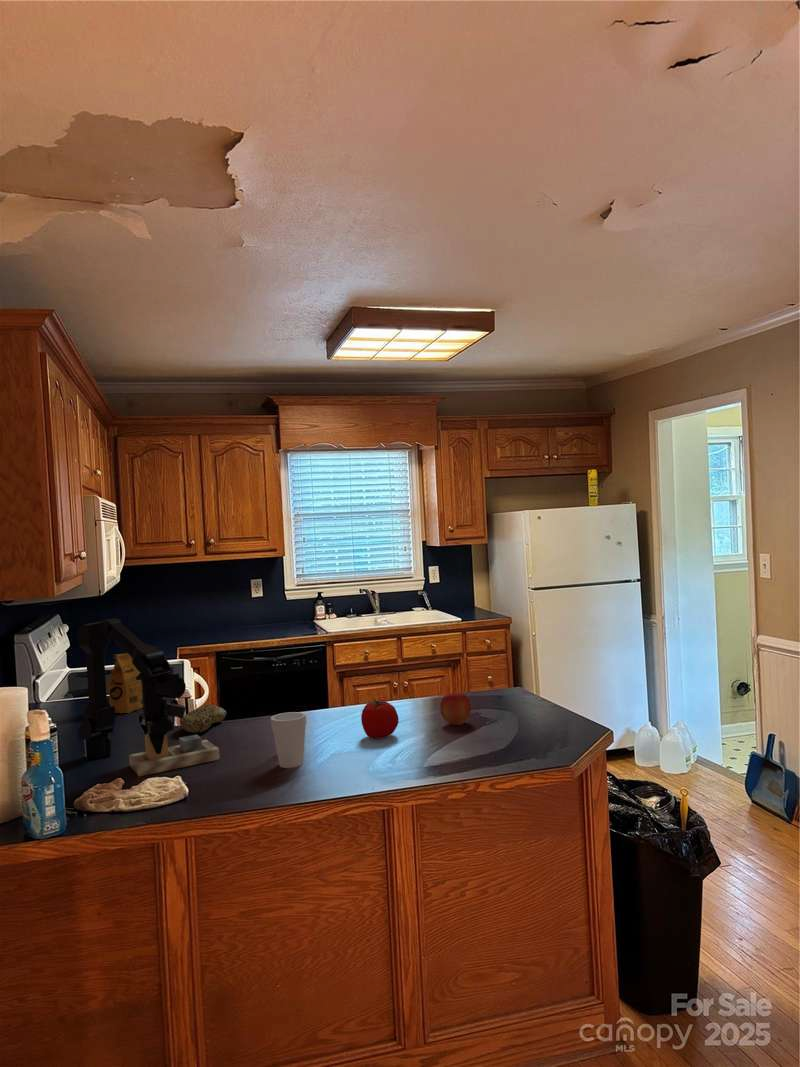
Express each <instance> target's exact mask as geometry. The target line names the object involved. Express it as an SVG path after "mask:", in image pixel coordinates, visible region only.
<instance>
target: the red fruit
mask: <svg viewBox="0 0 800 1067" xmlns="http://www.w3.org/2000/svg"><path fill="white" fill-rule="evenodd" d="M360 715H361V718H360V720H361V725H362V729H363V731H364V733H365V735H366V736H367V737H368V738H370V739H383V738H388V737H390V736H391V735H392V734H393V733H394V732H395V731H396V729H397V727H398V725H399V715H398V712H397V709H396V707H395V706H394V705H393V704H391V703H390V702H387V700H386V701H384V700H376V699H375V698H373V702H368V703H366V704H365V706H364V707H363V709H362V711H361V714H360Z"/></svg>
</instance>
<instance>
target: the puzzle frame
mask: <svg viewBox="0 0 800 1067" xmlns="http://www.w3.org/2000/svg"><path fill="white" fill-rule="evenodd" d="M178 739H179V740H178V742H179V744H177V745H172V746H168V756H167V757H163V758H158V759H153V760H149V759H148V758H147V756H146V751H142V752H137V753H132V754H129V755H128V758H129V759H128V760H129V766H130V768H131V769H132V770H133V771H134V772H135V773H136V774H137V776H138V777H143V776H148V775H152V774H157V773H158V774H159V773H161V772H166V771H171V770H176V769H180V768H185V767H190V766H194V765H200V764H204V763H208V762H214V761H218V760H220V759H221V758H220V748H219V747H218V746H216V745H214V744H213V743H212V742H210V741H209V740H207V739H202V737H200V735H198V733H195V734H193V735H192V734H191V735H186V736H182V737H178Z"/></svg>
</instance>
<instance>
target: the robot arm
mask: <svg viewBox="0 0 800 1067" xmlns="http://www.w3.org/2000/svg"><path fill="white" fill-rule="evenodd" d="M77 638H78V644H79V647H80V648H81V649H82V651H83V652H84V653H85V661H86V675H87V677H86V678H87V690H88V692H87V693H88V695H87V696H88V704H87V706H86V708H85V710H84V711H83V722H82V724H81V725H80V727H79V728H78V730H77V731H76V732H77V733H76V734H77V737H78V740H79V739H80V740H83V743H84V756H85V757H86V758H85V757H84V756H83V757H84V758H85V760H86V759H87V760H88V761H92V760H91V759H94V760H98V759H102V758H109V757H111V756H112V755H111V753H112V748H111V744H112V743H111V738H110V737H109V734H113V733H114V728H115V727H114V726H115V723H116V719H117V716H116V713H115V707H114V706H111V705H110V704H109V701H108V696H107V695H108V694H107V680H106V679H107V678H106V665H105V662H106V661H105V650H106V649H107V647H108V644H109V643H110V639H111V640H112V641H113V642H114V643H116V644H117V645H118V646H119V647H120V648H121V649H122V650H124V652H125V653H128V654H129V655H130V656H131V657H132V663H133V665H134V666H135V667H136V669H137V670H138V671H139V672H140V674H139V675H138V676H137V677H136V680H141V686H142V700H141V704H142V705H143V708H142V710H139V711H138V713H137V714H136V723H138V724H139V727H140V729H141V731H142V733H143V734H144V736H145V734H148V736H149V738H150V741H151V743H152V745H153V747H154V749H155V751H156V754H161V750H162V745H163V740H164V736H165V734H167V733H168V732H171V731H174V729H175V726H174V724H175V723H174V722H173V721H172V720H171V719H169V717H176V718H178V719H180V718H183V717H184V716H185V713H186V709H187V708H186V706H185V705H183V704H179V701H178V699H180V698H181V697H182V696H183V695H184V694H185V692H186V689H187V687H186V683H185V681H184V678H182V677H180V672H175V671H174V669H173V668H172V666H171V664H170V662H169V661H168V659H167V657H166V655H165V653H164V651H162V650H161V649H159V648H157V647H156V646H155V645H151V644H148V643H147V644H146V643H145V642H143V641H142V640H141V639H140V638H138V636H136V635H135V633H133V632H132V631H131V630H129V628H128V627H126V626H125V624H123V622H122V620H120V619H119V618H111V619H105V620H102V621H97V622H91V623H84V624H82V625H80V626H79V628H78V629H77ZM166 698H167V699H170V700H169V701H168V700H167V699H166ZM141 723H142V724H141ZM87 760H86V761H87Z"/></svg>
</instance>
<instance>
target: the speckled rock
mask: <svg viewBox="0 0 800 1067" xmlns="http://www.w3.org/2000/svg"><path fill="white" fill-rule="evenodd" d="M226 715H227V711H226V710H225V709H224V708H223V707H220V706H216V705H215V704H206V705H202V706H199V707H198V708H195V709H193V710H191V711H189V712H187V713H186V714H184V717H183V718H179V725H180V728H182V729H184V731H186V732H188V733H192V734H199V732H200V733H203V732H205V731H206V730H208V729H209V728H210V727H211V726H212V725H213V724H216V723H220V722H222V721H223V720H224V719H225V717H226ZM212 723H213V724H212Z"/></svg>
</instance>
